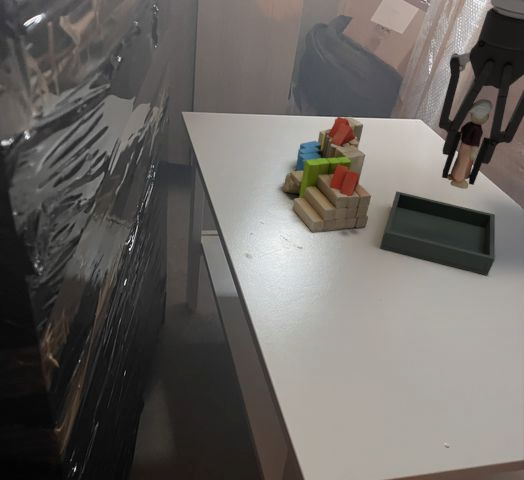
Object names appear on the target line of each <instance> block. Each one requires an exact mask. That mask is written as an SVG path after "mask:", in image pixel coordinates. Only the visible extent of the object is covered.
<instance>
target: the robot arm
mask: <svg viewBox="0 0 524 480" xmlns="http://www.w3.org/2000/svg"><path fill="white" fill-rule="evenodd" d="M490 4H491V5H492V6H493V7H491V8H489V9H488V10H487V11H486V14H485V17H484V20H483V22H482V23H483V24H482V26H481V30H480V33H479V36H478V38H477V41H476V43H475V44H474V46H473V47H472V48H471V49H470V50H469V52H465V53H461V54H458V53H456V52H455V53H453V54H452V55H451V56H450V59H449V70H450V77H449V80H448V85H447V89H446V93H445V97H444V101H443V104H442V107H441V108H442V109H441V113H440V116H439V122H438V127H439V128H440V129H442V130H444V131H446V133H447V135H446V138H445V141H444V143H443V147H442V155H445V156H447V157H446V161H445V164H444V166H443V169H442V173H441V174H442V175H441V178H443V179H447V176H448V174H450V171H451V167H452V165H453V161H454V158H455V156H456V152H457V151H458V147H459V144H460V141H461V140H460V138H461V132H460V131H459V130H461V127H462V126H463V123H464V121H465V119H466V117H468V114H469V113H468V112H469V110H470V108H471V107H472V105H473V104H474V103H475V102H476V99H477V98H478V95H479V94H480V92H481V91H482V89H483V87H494V88H495V89H497V97H496V101H495V105H494V111H493V117H492V122H491V126H490V127H491V128H490V133H489V137H485V136H484V137H483V139H482V141H481V143H480V146H479V148H478V151H477V154H476V157H475V159H474V162H473V165H472V169H471V173H470V177H469V178H468V185H471V186H473V185H475V182H476V180H477V178H478V177H477V176H478V175H479V172H480V169H481V167H482V164H485V165H488V164H489V163H490V162H491V161H492V158H493V156H494V153H495V151H496V147H497V146H498V145H499V144H501V143H505V144H509V143H512V141H513V139H514V137H515V135H516V133H517V131H518V129H519V127H520V125H521V123H522V120H523V119H524V89H523V90H522V93H521V95H520V96H519V99H518V100H517V103H516V105H515V108H514V110H513V112H512V114H511V116H510V119H509V120H508V122H507V124H506V127H505V129H504V130H502V125H503V120H504V116H505V115H504V114H505V110H506V106H507V100H508V96H509V91H510V86H512V85H513V84H514V83H515V82H517V81H518V80H519V79H521V78H522V77H523V76H524V0H490ZM468 63H470V65H471V69H472V72H473V75H474V79H473V80H472V83H471V84H470V86H469V89H468V91H467V93H466V95H465V97H463V98H464V99H463V100H462V102H461V104H460V106H459V108H458V109H457V111H456V113H455V116H453V119H452V120H451V119H450V115H451V112H452V107H453V104H454V100H455V96H456V92H457V88H458V84H459V80H460V74H461V72H464V71H465V70H466V68H467V67H466V66H467V64H468ZM447 180H448V179H447Z"/></svg>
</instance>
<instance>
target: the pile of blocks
mask: <svg viewBox="0 0 524 480" xmlns="http://www.w3.org/2000/svg"><path fill="white" fill-rule="evenodd" d="M363 129H364V124H363V123H362V122H360V121H358V119H355V118H353V117H352V116H346V117H342V116H337V117H336V118H335V119H334V122H333V124H332V127H331V128H328V129H324V130H320V131H319V134H318V138H317V141H316V140H313V141H312V140H311V141H308V142H303V143H300V144H299V148H298V152H297V157H296V158H297V159H296V165H295V171H294V170H293V171H290V173H287V174H286V175H285V177H284V184H283V189H282V192H285V193H291V194H298V195H299V196H298V197H295V198H294V199H293V203H292V210H294V212H295V213H296V214H297V216H298V217H299V218H300V219H301V220H302V221H303V223H304V224H305V225H306V226H307V228H308V229H309V230H310V231H311V232H312V233H317V232H318V233H319V232H331V231H337V230H344V229H354V228H356V229H359V228H366V226H367V223H368V220H369V216H368V215H367V214H368V210H369V206H370V203H371V200H372V199H371V198H372V195H371V194H370V193H369V191H367V190H366V189H365V188H364V187H363V186H362V185H361V184H360V179H361V175H362V171H363V167H364V162H365V158H366V154H365V153H364V152H363V151H362V150H360V149H359V145H360V142H361V137H362V133H363Z"/></svg>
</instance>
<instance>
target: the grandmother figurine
mask: <svg viewBox="0 0 524 480" xmlns="http://www.w3.org/2000/svg"><path fill="white" fill-rule="evenodd" d="M492 109H493V103H492V101H491V100H489V99H486V98H482V99H478V100H476V101H474V103H473V105H472V107H471V108H470V110H469V112H468V114H470V120H471V121H470V120H469V121H468V122H466V123H465V124H464V125H461V127H460V131H459V132H461V138H460V141H461V142H460V145H459V146H460V147H459V150H458V152H457V155H456V158H455V160H454V163H453V164H452V166H451V167H452V168H451V169H450V173H448V176H447V180H449V181H450V186H451V187H455V188H458V189H459V188H460V189H462V190H463V189H464V190H466V189H468V188H469V182H468V181H467V180H469V177H470V174H471V171H472V168H473V166H474V160H476V158H477V154H478V152H479V149H480V146H481V140H482V137H483V134H484V130H483V127H482V125H484V124H486V123H487V121H488V120H489V118H490V112H491V111H492Z"/></svg>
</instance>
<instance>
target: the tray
mask: <svg viewBox="0 0 524 480" xmlns="http://www.w3.org/2000/svg"><path fill="white" fill-rule="evenodd" d="M381 239H382V240H381V244H380V246H379V249H383V250H385V251H390V252H394V253H398V254H402V255H406V256H409V257H412V258H413V257H414V258H417V259H421V260H426V261H430V262H432V263H437V264H440V265H441V264H442V265H445V266H449V267H454V268H456V269H462V270H464V271H469V272H473V273H477V274H481V275H485V276H488V275H489V273H490V271H491V270H492V269H491V268H492V267H493V264H494V262H495V260H496V254H495V253H496V215H495V214H493V213H490V212H485V211H482V210H476V209H473V208H469V207H465V206H459V205H456V204H451V203H448V202H443V201H439V200H435V199H431V198H427V197H422V196H418V195H415V194H410V193H405V192H401V191H398V190H397V191H396V192H395V195H394V198H393V201H392V205H391V208H390V213H389V215H388V219H387V222H386V224H385V229H384V232H383V235H382V238H381Z"/></svg>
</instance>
